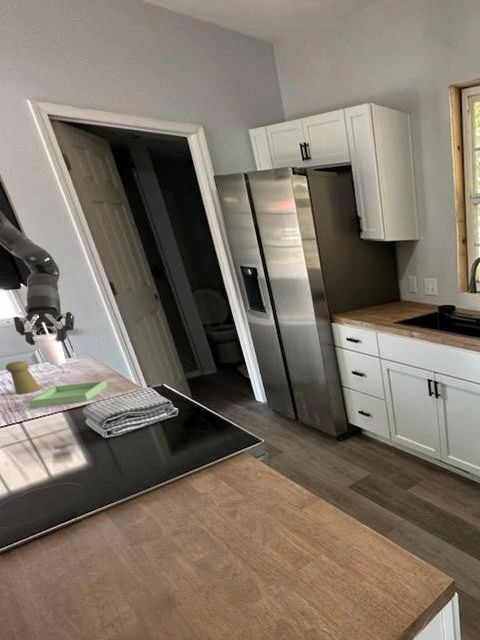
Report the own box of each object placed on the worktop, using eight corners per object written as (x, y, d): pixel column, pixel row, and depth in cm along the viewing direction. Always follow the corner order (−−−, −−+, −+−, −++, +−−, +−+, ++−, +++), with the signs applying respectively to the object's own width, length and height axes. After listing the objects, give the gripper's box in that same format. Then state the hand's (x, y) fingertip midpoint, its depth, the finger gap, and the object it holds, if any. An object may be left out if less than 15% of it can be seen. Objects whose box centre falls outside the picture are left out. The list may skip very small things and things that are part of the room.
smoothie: (68, 363, 139) (51, 323, 134) (41, 367, 136) (22, 325, 131) (73, 358, 144) (56, 319, 139) (47, 362, 141) (29, 322, 136)
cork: (30, 387, 153) (16, 359, 149) (45, 387, 153) (32, 359, 149) (11, 394, 147) (-4, 365, 143) (27, 394, 147) (13, 365, 143)
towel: (86, 429, 120) (75, 404, 117) (161, 406, 135) (153, 384, 132) (105, 441, 113) (94, 416, 110) (182, 416, 127) (174, 393, 124)
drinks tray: (31, 407, 135) (27, 401, 134) (56, 392, 148) (53, 386, 147) (87, 400, 140) (85, 394, 140) (107, 386, 153) (105, 380, 152)
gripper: (77, 305, 148) (81, 344, 143) (20, 310, 141) (22, 351, 136) (67, 292, 142) (70, 332, 137) (6, 296, 134) (7, 339, 129)
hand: (46, 341), depth 136 cm, fingers closed on smoothie, 6 cm apart
